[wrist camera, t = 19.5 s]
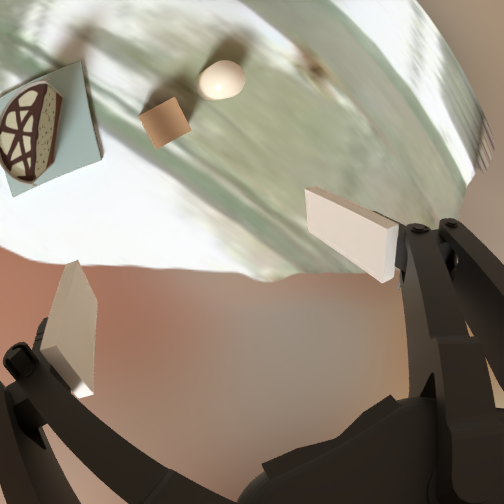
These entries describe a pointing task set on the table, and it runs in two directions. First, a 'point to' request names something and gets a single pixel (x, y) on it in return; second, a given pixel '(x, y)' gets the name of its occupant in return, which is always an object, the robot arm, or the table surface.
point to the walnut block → (164, 123)
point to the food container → (30, 131)
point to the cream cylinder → (220, 81)
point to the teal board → (66, 127)
